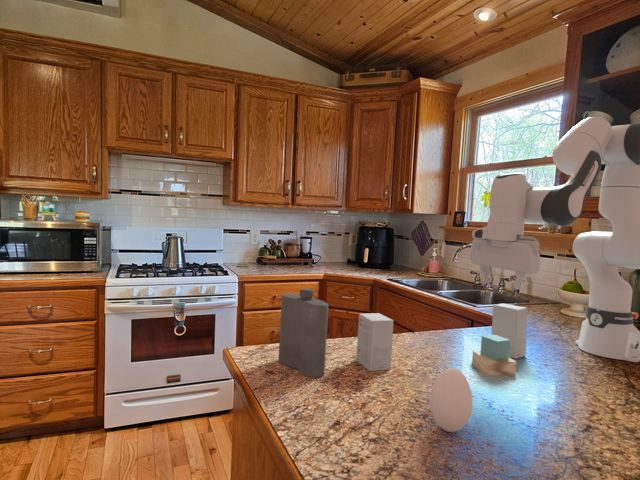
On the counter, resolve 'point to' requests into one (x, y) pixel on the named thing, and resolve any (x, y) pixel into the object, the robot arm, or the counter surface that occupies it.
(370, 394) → the counter surface
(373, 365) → the small box
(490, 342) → the teal cube
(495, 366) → the maple block
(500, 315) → the skincare box
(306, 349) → the flask
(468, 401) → the egg
